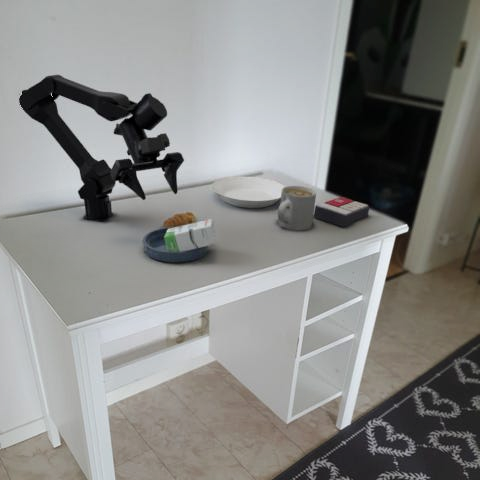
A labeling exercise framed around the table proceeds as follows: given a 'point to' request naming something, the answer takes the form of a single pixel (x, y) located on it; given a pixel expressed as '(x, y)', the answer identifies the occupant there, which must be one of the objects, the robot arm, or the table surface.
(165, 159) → the robot arm
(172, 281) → the table surface
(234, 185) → the bowl
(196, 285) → the table surface
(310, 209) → the coffee mug
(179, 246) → the ink box
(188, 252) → the glazed bowl
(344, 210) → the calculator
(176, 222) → the pastry
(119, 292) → the table surface
